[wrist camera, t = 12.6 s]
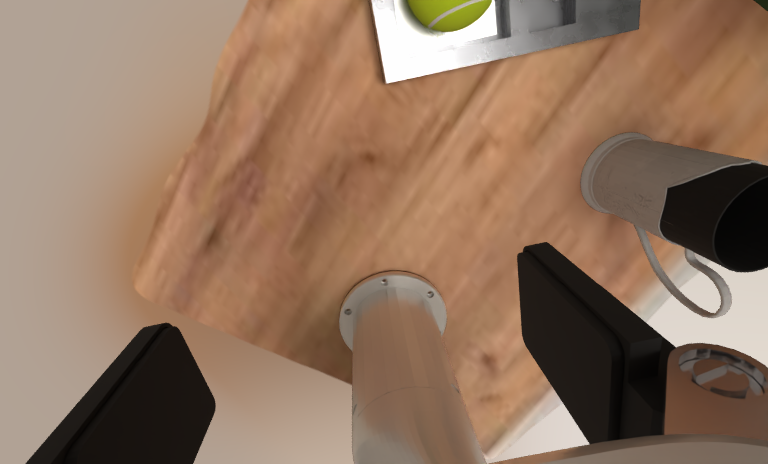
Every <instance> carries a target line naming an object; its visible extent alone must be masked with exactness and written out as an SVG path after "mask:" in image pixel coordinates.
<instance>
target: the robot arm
mask: <svg viewBox="0 0 768 464" xmlns="http://www.w3.org/2000/svg"><path fill="white" fill-rule="evenodd" d="M517 262H518V278H519V294H520V310H521V326H522V336H523V340H524V343H525V345H526V347H527V349H528V350H529V352H530V353H531V355H532V356H533V358H534V359H535V361H536V362H537V364H538V365H539V367H540V368H541V370H542V372H543V373H544V375H545V376H546V378H547V379H548V381H549V382H550V384H551V385H552V387H553V388H554V390H555V391H556V393H557V395H558V396H559V398H560V399H561V401H562V402H563V404H564V405H565V407H566V408H567V410H568V411H569V413H570V414H571V416H572V417H573V419H574V421H575V422H576V424H577V425H578V427H579V428H580V430H581V431H582V433H583V434H584V436H585V437H586V439H587V440H588V442H589V445H584V446H578V447H573V448H568V449H562V450H557V451H551V452H546V453H541V454H535V455H530V456H524V457H519V458H514V459H509V460H505V461H499V462H495V463H489V464H768V368H767V367H766V366H765V365H763V364H762V363H760V362H759V361H757V360H756V359H754V358H752V357H751V356H748V355H746V354H744V353H741V352H739V351H737V350H734V349H730V348H726V347H723V346H719V345H713V344H705V343H694V344H686V345H683V346H679V347H677V348H676V347H675V346H674V345H672V344H671V343H670V342H669V341H667V340H666V339H665V338H664V337H662V336H661V335H660V334H659V333H658V332H657V331H655V330H654V329H653V328H652V327H650V326H649V325H648V324H647V323H646V322H644V321H643V320H642V319H641V318H640V317H638V316H637V315H636V314H635V313H633V312H632V311H631V310H630V309H629V308H627V307H626V306H625V305H624V304H622V303H621V302H620V301H619V300H618V299H616V298H615V297H614V296H613V295H612V294H610V293H609V292H608V291H607V290H605V289H604V288H603V287H602V286H600V285H599V284H597V283H596V282H595V281H594V280H593V279H591V278H590V277H589V276H588V275H587V274H585V273H584V272H583V271H582V270H581V269H579V268H578V267H577V266H576V265H574V264H573V263H572V262H571V261H570V260H568V259H567V258H566V257H565V256H564V255H562V254H561V253H560V252H559V251H557V250H556V249H555V248H554V247H553V246H551V245H550V244H549V243H547V242H544V243H539V244H534V245H530V246H525V247H524V249H523V252H522V253H519V254H518V256H517ZM383 279H386V280H383ZM429 291H430V292H429ZM446 322H447V311H446V307H445V304H444V301H443V299H442V297H441V295H440V293H439V292H438V290H437V289H436V288H435V287H434V286H433V285H432V284H431V283H430V282H429V281H427V280H426V279H424V278H422V277H420V276H418V275H415V274H412V273H408V272H402V271H389V272H383V273H379V274H376V275H373V276H370V277H368V278H366V279H365V280H363V281H361V282H360V283H359V284H357V285H356V286H355V287H354V288H353V289H352V290H351V291H350V292H349V293H348V295H347V296H346V298H345V300H344V302H343V303H342V307H341V310H340V318H339V326H340V332H341V335H342V338H343V340H344V342H345V343H346V345H347V346H348V347H349V349H350V350H351V351H352V352H353V356H352V452H353V461H354V464H487V463H486V461H485V458H484V456H483V453H482V450H481V448H480V445H479V442H478V440H477V437H476V434H475V431H474V428H473V425H472V423H471V420H470V417H469V414H468V412H467V409H466V406H465V403H464V400H463V397H462V394H461V391H460V388H459V386H458V383H457V380H456V377H455V374H454V371H453V368H452V365H451V362H450V360H449V357H448V354H447V351H446V348H445V345H444V342H443V339H442V335H443V333H444V330H445V328H446ZM214 412H215V399H214V397H213V395H212V393H211V391H210V389H209V387H208V385H207V383H206V381H205V379H204V377H203V375H202V373H201V371H200V369H199V368H198V366H197V363H196V361H195V359H194V357H193V356H192V354H191V352H190V350H189V348H188V346H187V344H186V342H185V340H184V338H183V336H182V334H181V332H180V330H179V329H178V328H177V327H175V326H174V327H173V326H172V325H171V324H169V323H162V324H158V325H153V326H148V327H144V328H143V329H142V330H140V331H139V333H138V334H137V335H136V336H135V337H134V338H133V339H132V341H131V342H130V343H129V344H128V345H127V347H126V348H125V349H124V350H123V351H122V352H121V354H120V355H119V356H118V357H117V358H116V359H115V360H114V362H113V363H112V364H111V365H110V366H109V368H108V369H107V370H106V371H105V372H104V373H103V374H102V375H101V377H100V378H99V379H98V380H97V381H96V382H95V384H94V385H93V386H92V387H91V388H90V390H89V391H88V392H87V393H86V394H85V395H84V396H83V398H82V399H81V400H80V401H79V402H78V403H77V404H76V406H75V407H74V408H73V409H72V410H71V411H70V413H69V414H68V415H67V416H66V417H65V419H64V420H63V421H62V422H61V423H60V424H59V425H58V427H57V428H56V429H55V430H54V431H53V432H52V433H51V435H50V436H49V437H48V438H47V439H46V440H45V442H44V443H43V444H42V445H41V446H40V447H39V449H38V450H37V451H36V452H35V453H34V455H33V456H32V457H31V458H30V459H29V460H28V461H27V463H26V464H193V463H194V460H195V458H196V455H197V453H198V451H199V448H200V446H201V444H202V441H203V439H204V436H205V434H206V432H207V429H208V427H209V425H210V422H211V420H212V418H213V415H214Z"/></svg>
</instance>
